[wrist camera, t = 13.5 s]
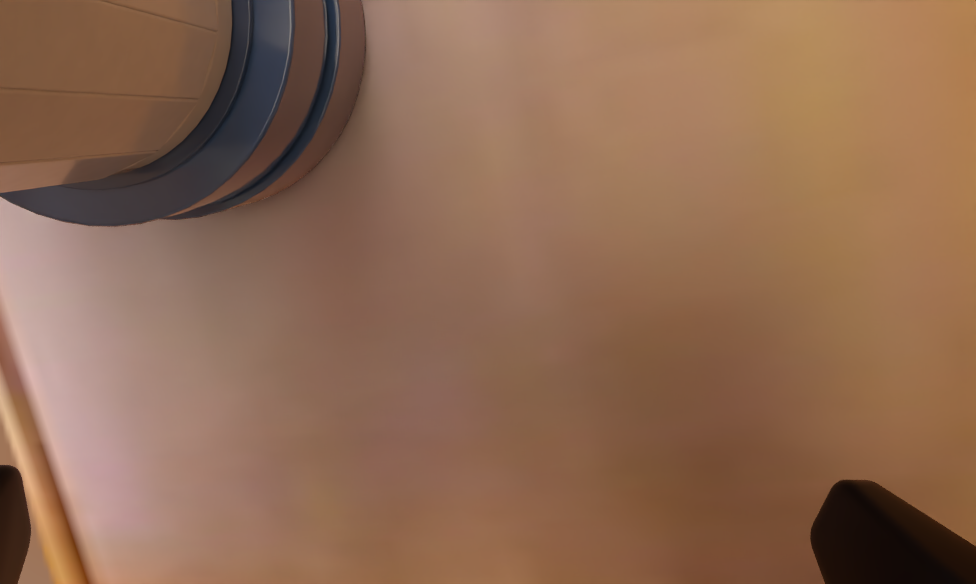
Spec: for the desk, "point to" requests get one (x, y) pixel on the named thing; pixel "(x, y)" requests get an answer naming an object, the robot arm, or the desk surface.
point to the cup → (103, 84)
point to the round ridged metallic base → (239, 122)
